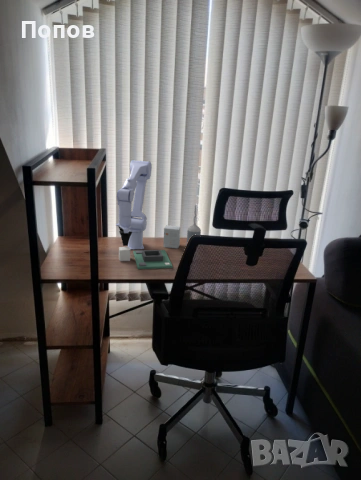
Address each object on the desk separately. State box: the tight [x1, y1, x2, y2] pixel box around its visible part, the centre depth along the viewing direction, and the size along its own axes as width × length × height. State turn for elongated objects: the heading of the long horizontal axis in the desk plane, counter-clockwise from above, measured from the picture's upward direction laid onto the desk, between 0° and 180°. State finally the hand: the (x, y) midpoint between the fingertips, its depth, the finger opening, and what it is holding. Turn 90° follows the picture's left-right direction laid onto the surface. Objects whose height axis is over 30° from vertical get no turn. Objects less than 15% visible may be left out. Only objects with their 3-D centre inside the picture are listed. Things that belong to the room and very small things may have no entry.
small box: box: [162, 225, 181, 249], centre depth 206 cm, size 8×6×10 cm
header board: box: [132, 249, 174, 270], centre depth 188 cm, size 20×16×4 cm
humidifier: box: [185, 204, 202, 247], centre depth 197 cm, size 8×8×25 cm
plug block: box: [118, 246, 131, 262], centre depth 187 cm, size 4×5×6 cm
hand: (124, 242), depth 185 cm, fingers open, 7 cm apart
